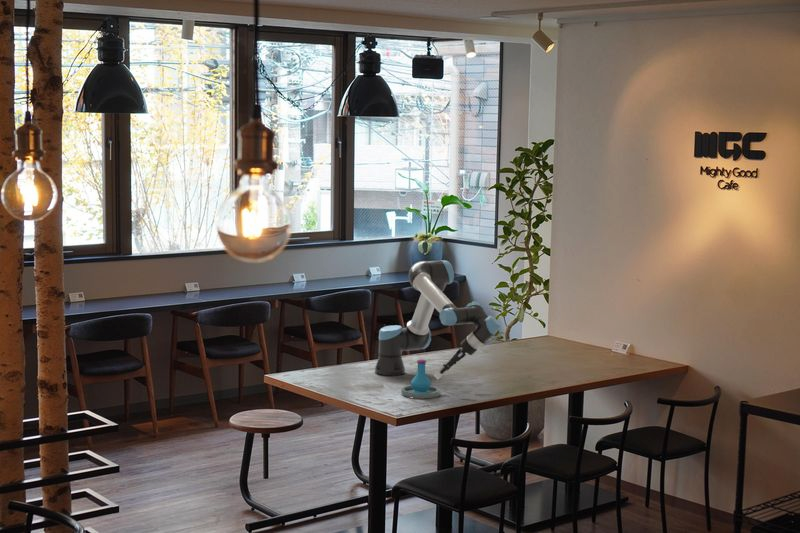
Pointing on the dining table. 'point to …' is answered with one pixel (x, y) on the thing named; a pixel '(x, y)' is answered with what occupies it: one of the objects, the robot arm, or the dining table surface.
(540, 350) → the dining table surface
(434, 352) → the dining table surface
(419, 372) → the perfume bottle
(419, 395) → the round dish
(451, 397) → the dining table surface
